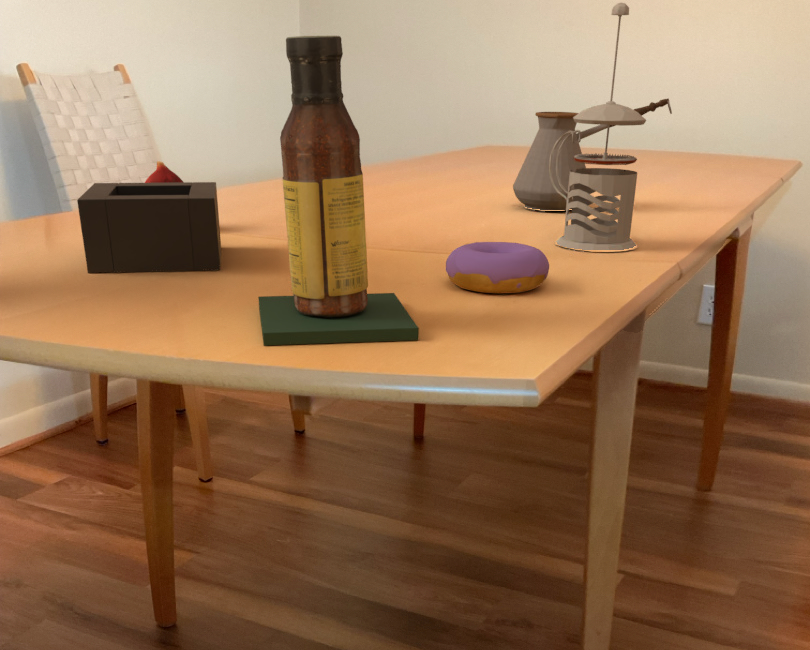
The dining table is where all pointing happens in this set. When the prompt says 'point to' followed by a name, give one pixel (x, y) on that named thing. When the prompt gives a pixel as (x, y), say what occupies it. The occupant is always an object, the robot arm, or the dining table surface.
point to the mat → (336, 323)
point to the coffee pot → (534, 172)
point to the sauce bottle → (323, 185)
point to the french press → (600, 180)
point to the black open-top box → (150, 227)
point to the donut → (497, 267)
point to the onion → (162, 175)
